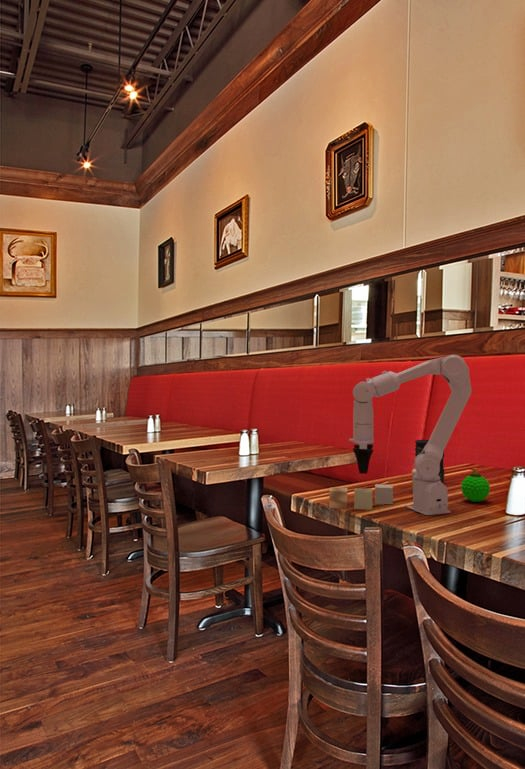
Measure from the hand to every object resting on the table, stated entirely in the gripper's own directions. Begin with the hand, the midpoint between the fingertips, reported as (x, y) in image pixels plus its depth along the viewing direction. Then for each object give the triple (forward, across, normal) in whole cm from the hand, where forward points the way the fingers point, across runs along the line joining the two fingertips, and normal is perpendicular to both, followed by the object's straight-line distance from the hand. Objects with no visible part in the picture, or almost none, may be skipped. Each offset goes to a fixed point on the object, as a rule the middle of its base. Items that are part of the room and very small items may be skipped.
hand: (363, 471), depth 156 cm
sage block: (+10, 0, 0) cm, 10 cm away
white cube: (+10, -7, +6) cm, 14 cm away
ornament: (+11, -13, +33) cm, 37 cm away
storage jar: (+11, -39, +23) cm, 46 cm away
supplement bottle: (+11, -23, +18) cm, 31 cm away
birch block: (+10, 0, -7) cm, 13 cm away
